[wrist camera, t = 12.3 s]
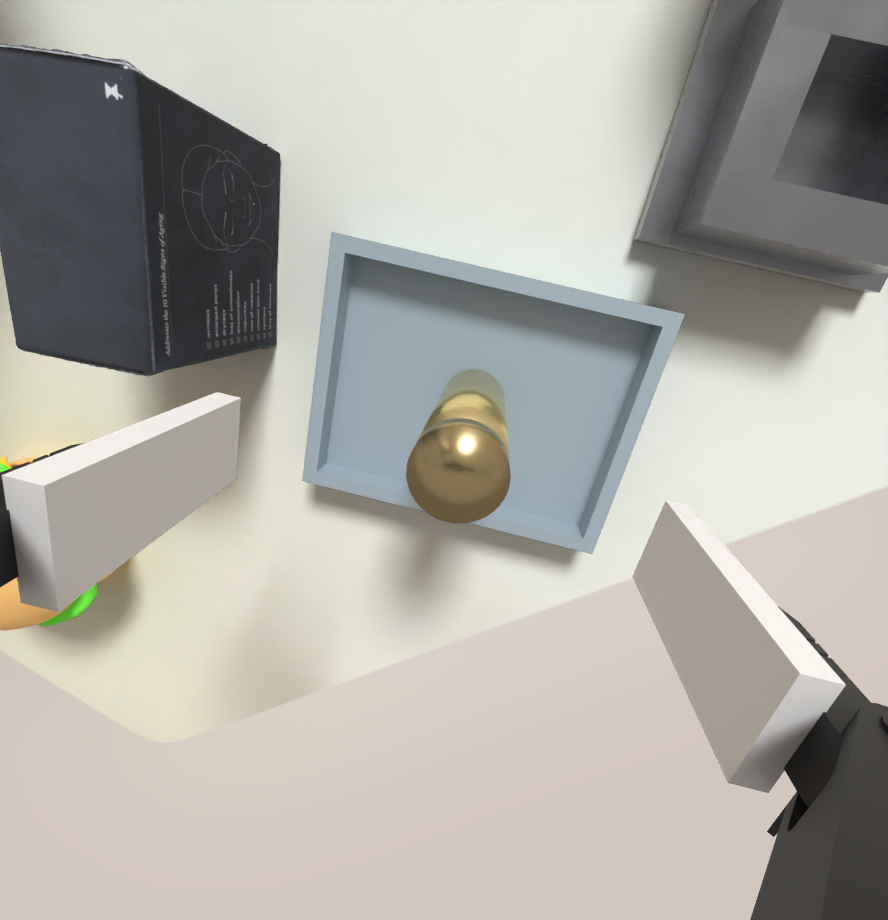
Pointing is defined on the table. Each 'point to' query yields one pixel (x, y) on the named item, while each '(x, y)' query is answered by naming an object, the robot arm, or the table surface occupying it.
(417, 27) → the table surface
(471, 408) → the pin
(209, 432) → the robot arm
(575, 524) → the tray
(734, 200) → the block
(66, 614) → the hamburger
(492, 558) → the table surface
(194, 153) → the box
